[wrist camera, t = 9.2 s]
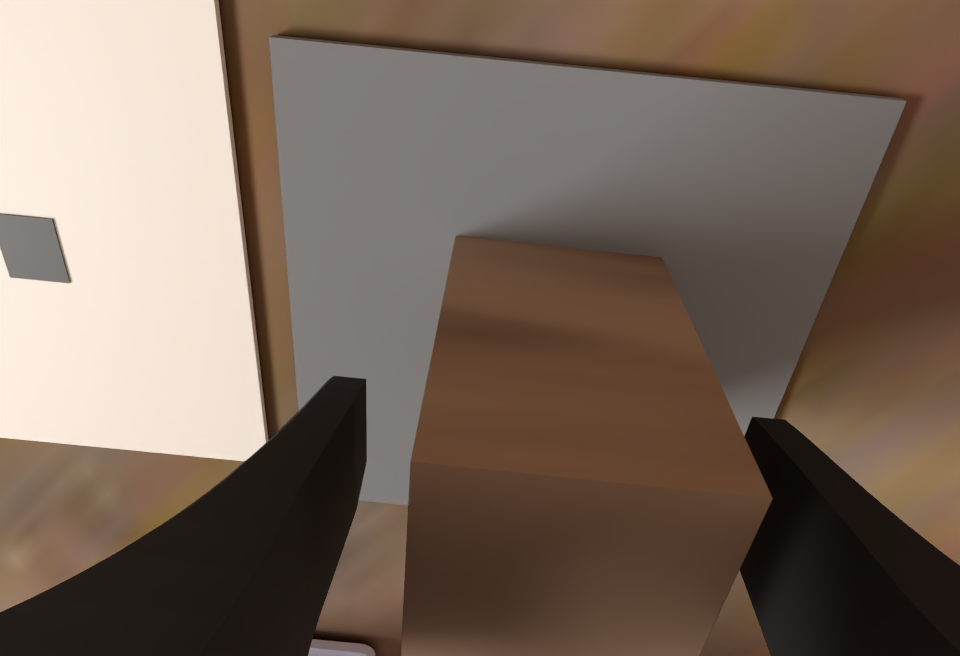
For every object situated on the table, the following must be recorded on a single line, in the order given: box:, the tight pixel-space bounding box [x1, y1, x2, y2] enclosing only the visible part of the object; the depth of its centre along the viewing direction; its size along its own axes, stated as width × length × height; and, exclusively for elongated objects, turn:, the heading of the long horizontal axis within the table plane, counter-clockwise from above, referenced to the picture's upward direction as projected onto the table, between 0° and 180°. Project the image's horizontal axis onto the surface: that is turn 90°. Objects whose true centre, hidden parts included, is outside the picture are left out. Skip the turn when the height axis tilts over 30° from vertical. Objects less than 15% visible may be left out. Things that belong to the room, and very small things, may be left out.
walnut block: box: [401, 236, 773, 656], centre depth 12 cm, size 4×4×7 cm
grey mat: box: [269, 35, 907, 505], centre depth 15 cm, size 12×12×1 cm
